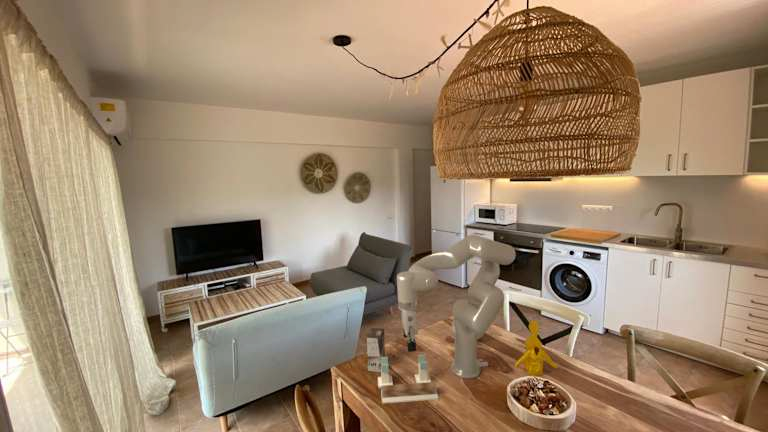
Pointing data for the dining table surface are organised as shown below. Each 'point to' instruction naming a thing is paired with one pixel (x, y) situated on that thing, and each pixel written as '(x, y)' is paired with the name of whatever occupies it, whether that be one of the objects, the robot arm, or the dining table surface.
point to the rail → (409, 389)
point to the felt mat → (409, 398)
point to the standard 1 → (384, 373)
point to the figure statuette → (534, 352)
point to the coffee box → (375, 349)
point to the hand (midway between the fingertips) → (409, 344)
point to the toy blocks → (422, 370)
